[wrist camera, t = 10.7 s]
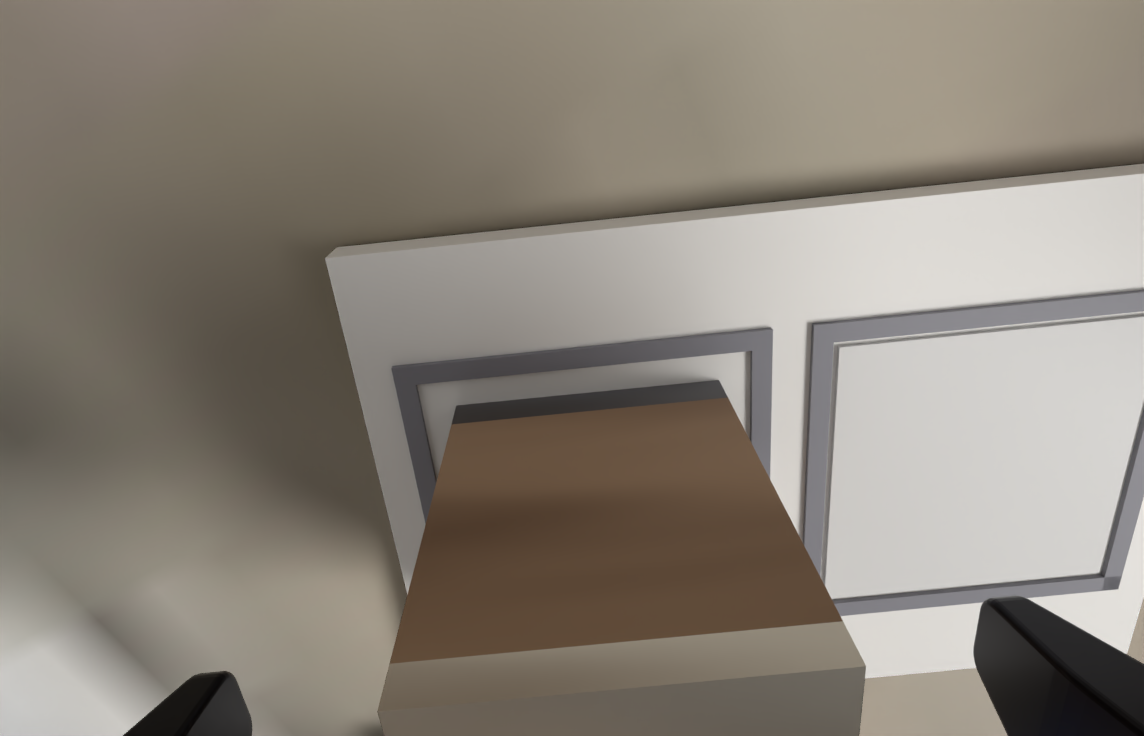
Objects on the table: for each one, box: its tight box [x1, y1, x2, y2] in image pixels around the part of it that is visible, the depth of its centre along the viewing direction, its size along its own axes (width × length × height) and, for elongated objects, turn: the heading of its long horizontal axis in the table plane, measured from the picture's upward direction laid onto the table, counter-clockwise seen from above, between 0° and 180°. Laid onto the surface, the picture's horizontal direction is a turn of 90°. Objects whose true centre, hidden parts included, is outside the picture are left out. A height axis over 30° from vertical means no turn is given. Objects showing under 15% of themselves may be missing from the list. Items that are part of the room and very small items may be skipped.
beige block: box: [377, 380, 866, 736], centre depth 9 cm, size 4×4×6 cm
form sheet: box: [325, 164, 1144, 678], centre depth 12 cm, size 9×13×1 cm
